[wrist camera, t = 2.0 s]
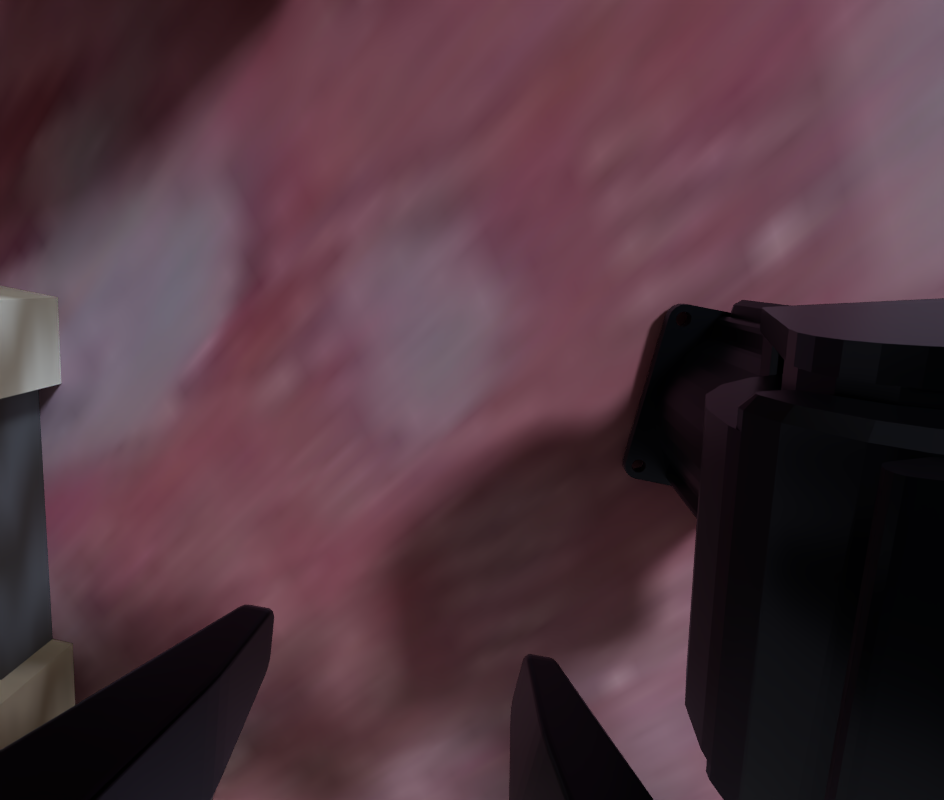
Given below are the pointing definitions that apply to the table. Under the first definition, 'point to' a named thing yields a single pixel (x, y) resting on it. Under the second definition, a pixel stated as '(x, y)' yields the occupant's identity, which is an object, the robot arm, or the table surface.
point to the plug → (27, 522)
